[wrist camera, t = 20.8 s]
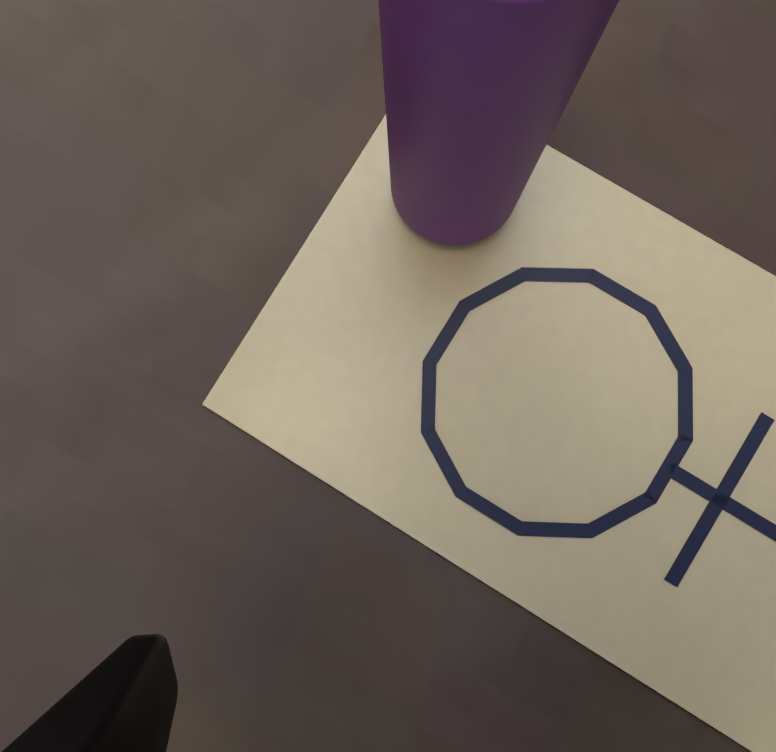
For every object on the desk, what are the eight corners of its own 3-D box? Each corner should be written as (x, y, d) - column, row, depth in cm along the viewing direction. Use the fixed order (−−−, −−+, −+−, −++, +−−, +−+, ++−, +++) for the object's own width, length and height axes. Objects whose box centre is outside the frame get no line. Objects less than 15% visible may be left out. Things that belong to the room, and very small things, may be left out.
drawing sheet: (1049, 436, 19) (1058, 437, 19) (843, 808, 19) (849, 813, 18) (414, 71, 21) (414, 67, 20) (203, 404, 20) (201, 404, 20)
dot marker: (537, 171, 20) (775, -282, 7) (475, 276, 20) (602, 4, 7) (431, 111, 20) (475, -432, 7) (368, 213, 20) (300, -160, 7)
